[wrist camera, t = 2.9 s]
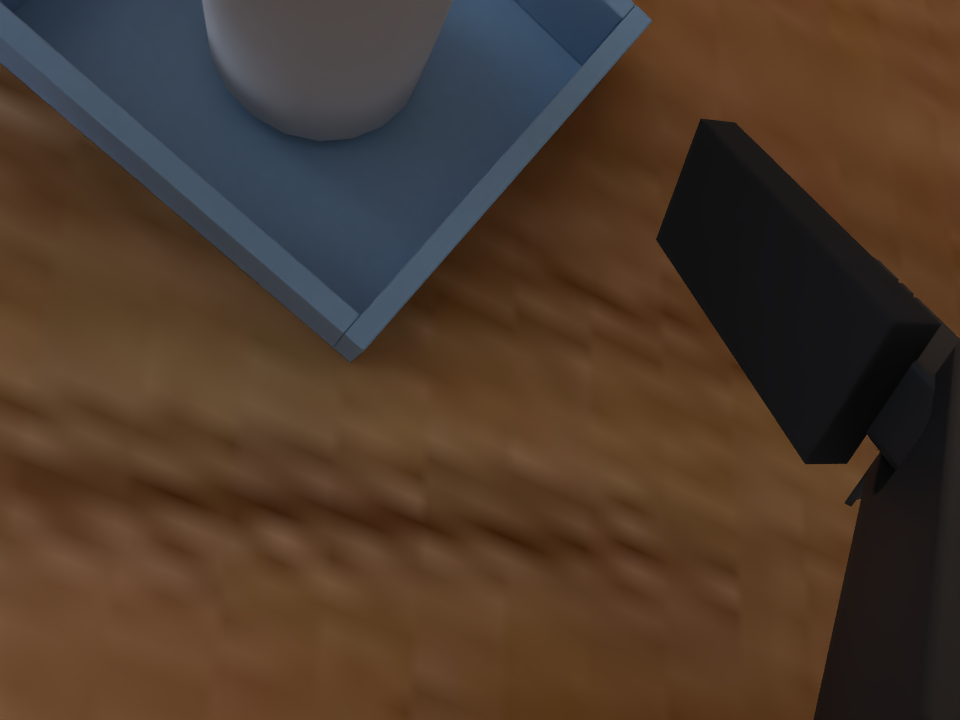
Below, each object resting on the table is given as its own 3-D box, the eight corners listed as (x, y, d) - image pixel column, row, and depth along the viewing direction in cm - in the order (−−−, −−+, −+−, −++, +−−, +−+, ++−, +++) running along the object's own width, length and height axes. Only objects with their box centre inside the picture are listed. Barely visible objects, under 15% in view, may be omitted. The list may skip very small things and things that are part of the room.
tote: (-39, 29, 26) (-94, -44, 22) (284, -242, 29) (287, -347, 26) (350, 362, 28) (364, 351, 24) (605, 71, 32) (653, 20, 28)
